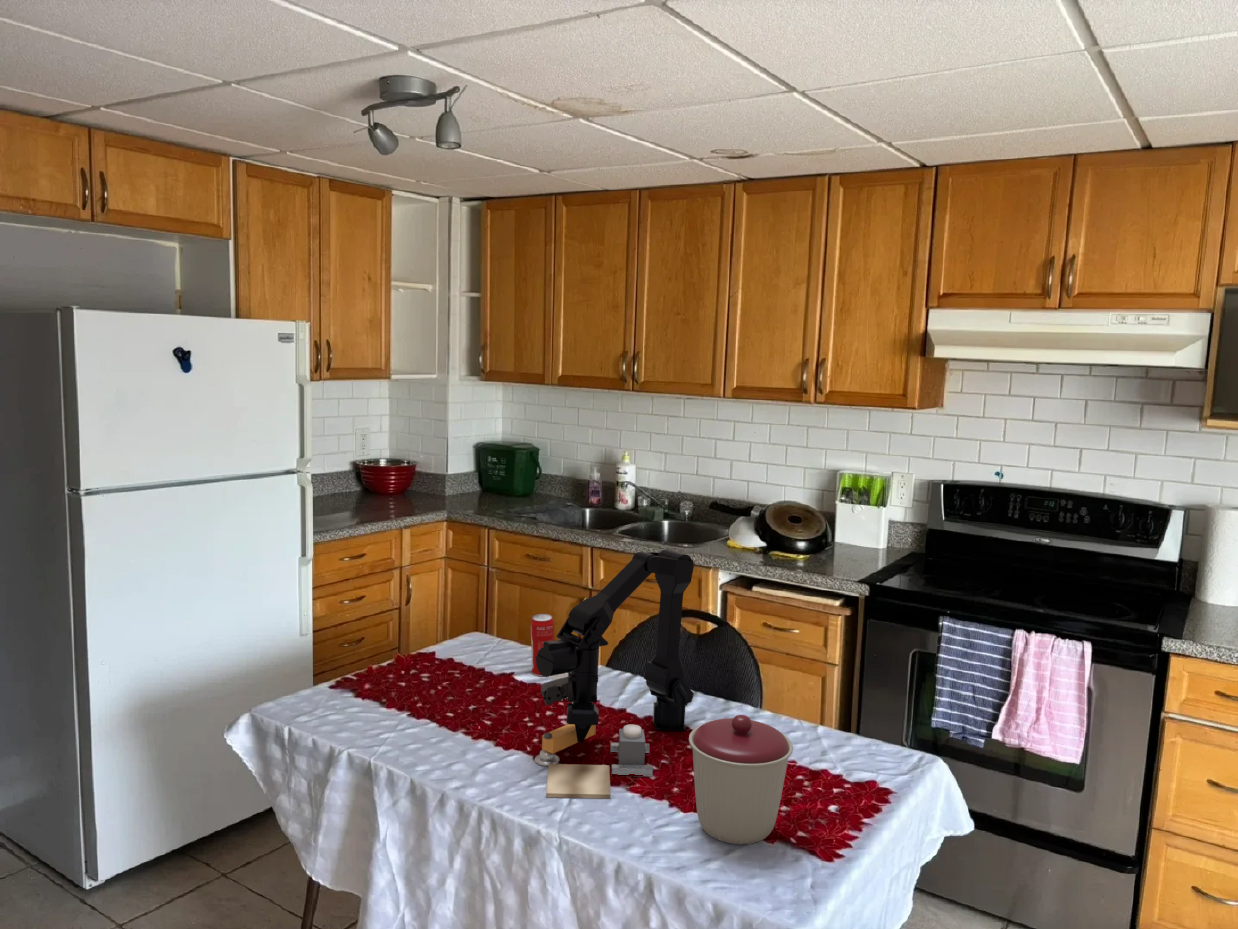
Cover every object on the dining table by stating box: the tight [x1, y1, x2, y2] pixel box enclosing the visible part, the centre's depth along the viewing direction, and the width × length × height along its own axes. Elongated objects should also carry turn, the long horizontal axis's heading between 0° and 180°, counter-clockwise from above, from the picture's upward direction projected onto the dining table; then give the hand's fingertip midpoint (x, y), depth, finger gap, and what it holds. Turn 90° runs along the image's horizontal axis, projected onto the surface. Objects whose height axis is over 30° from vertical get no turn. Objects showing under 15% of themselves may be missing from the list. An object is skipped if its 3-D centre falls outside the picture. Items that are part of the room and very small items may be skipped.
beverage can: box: [530, 613, 555, 677], centre depth 237 cm, size 6×6×15 cm
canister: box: [688, 714, 794, 845], centre depth 165 cm, size 18×18×21 cm
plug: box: [617, 724, 646, 765], centre depth 190 cm, size 5×6×8 cm
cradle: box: [534, 742, 654, 777], centre depth 190 cm, size 24×12×2 cm, turn 92°
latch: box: [541, 723, 597, 754], centre depth 194 cm, size 14×3×4 cm, turn 140°
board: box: [545, 763, 611, 800], centre depth 181 cm, size 12×12×1 cm
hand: (580, 742), depth 192 cm, fingers closed
